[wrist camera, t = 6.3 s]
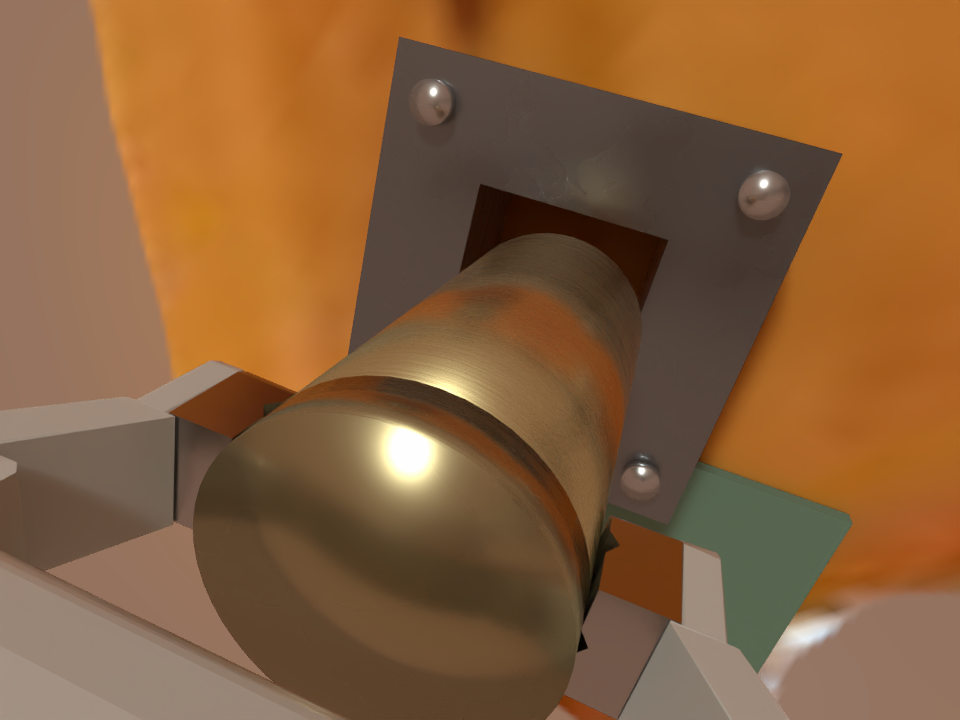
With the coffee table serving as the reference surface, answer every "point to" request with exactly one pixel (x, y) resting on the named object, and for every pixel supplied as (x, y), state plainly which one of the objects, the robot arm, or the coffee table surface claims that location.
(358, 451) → the plug
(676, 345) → the housing
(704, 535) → the coaster
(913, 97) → the coffee table surface
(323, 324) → the coffee table surface
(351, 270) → the coffee table surface
